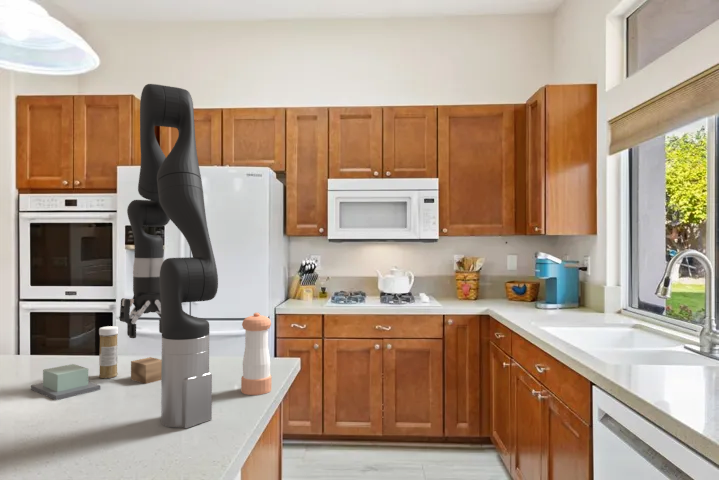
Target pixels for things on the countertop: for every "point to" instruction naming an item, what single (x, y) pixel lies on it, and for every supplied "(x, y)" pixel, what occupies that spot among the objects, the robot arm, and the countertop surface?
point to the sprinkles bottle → (108, 351)
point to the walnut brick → (146, 370)
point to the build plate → (66, 392)
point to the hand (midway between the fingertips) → (148, 335)
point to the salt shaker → (256, 356)
